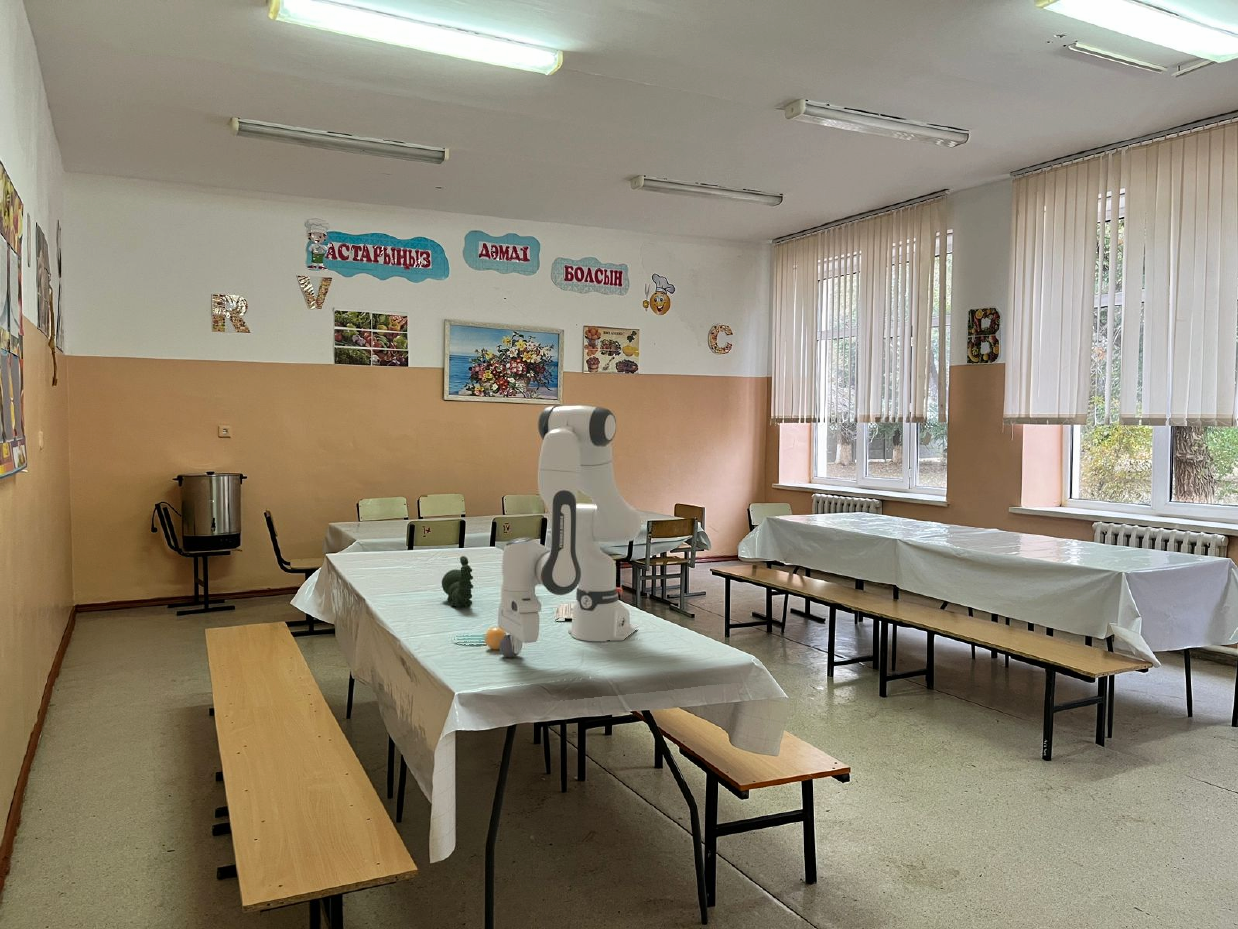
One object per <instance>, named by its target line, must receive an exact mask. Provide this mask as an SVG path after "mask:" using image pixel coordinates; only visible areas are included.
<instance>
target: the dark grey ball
mask: <svg viewBox="0 0 1238 929" xmlns="http://www.w3.org/2000/svg"><path fill="white" fill-rule="evenodd" d="M522 648H523V645H522V646H521V650H522ZM498 650H499V651H500V654H501V655H502V656H503V657H506V658H515V657H516V656H518V655H519V654H520V653H514V652H513V651H512V643H511V639H510V634H506V636H504V637H503V638H502V639H501V641H500V644H499V649H498Z"/></svg>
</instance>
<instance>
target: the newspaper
mask: <svg viewBox="0 0 1238 929" xmlns="http://www.w3.org/2000/svg"><path fill="white" fill-rule="evenodd" d="M573 606H574V605H572V603H558V604H557V605H556V607H557V611H556V619H555V618H554V620H555V622H556V620H558V619H559V618H566V619H572V616H573Z"/></svg>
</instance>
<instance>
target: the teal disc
mask: <svg viewBox="0 0 1238 929" xmlns="http://www.w3.org/2000/svg"><path fill="white" fill-rule="evenodd" d="M455 636H456V637H483V638H467V639H466V638H463V639H457V640H479V641H470V642H469V641H468V642H467V641H464V642H457V643H486V642H485V641H481V640H485V636H486V634H483V635H471V636H469V635H466V636H464V635H463V636H458V635H455ZM454 640H455V639H454ZM464 645H466V644H464ZM464 645H463V646H464ZM469 645H470V646H469V647H481V646H480V645H485V646H487V644H476V645H474V644H469Z"/></svg>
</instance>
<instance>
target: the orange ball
mask: <svg viewBox="0 0 1238 929" xmlns="http://www.w3.org/2000/svg"><path fill="white" fill-rule="evenodd" d="M506 635H507V632H505V631H504V630H502V629H500V628H499V626H497V627H491V628H490V629H488V630H487V632H486V636H485V642H486V644H487V645H486V646H487V647H488V648H490V649H491V650H500V649H499V644H500V641H501V639H502V638H503V637H504V636H506Z"/></svg>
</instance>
